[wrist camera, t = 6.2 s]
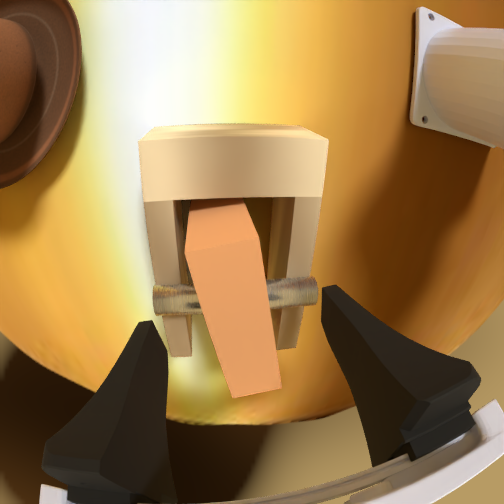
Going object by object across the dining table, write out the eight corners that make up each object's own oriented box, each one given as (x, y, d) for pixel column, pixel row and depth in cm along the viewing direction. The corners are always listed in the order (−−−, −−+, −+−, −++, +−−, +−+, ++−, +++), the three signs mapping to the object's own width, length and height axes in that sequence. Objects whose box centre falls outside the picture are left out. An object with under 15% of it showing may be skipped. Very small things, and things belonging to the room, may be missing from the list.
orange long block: (238, 188, 15) (258, 237, 10) (260, 312, 19) (281, 387, 13) (190, 198, 15) (184, 252, 9) (222, 320, 18) (232, 398, 13)
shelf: (299, 125, 15) (343, 147, 10) (281, 304, 21) (301, 365, 16) (154, 126, 14) (129, 149, 9) (174, 311, 20) (170, 376, 15)
